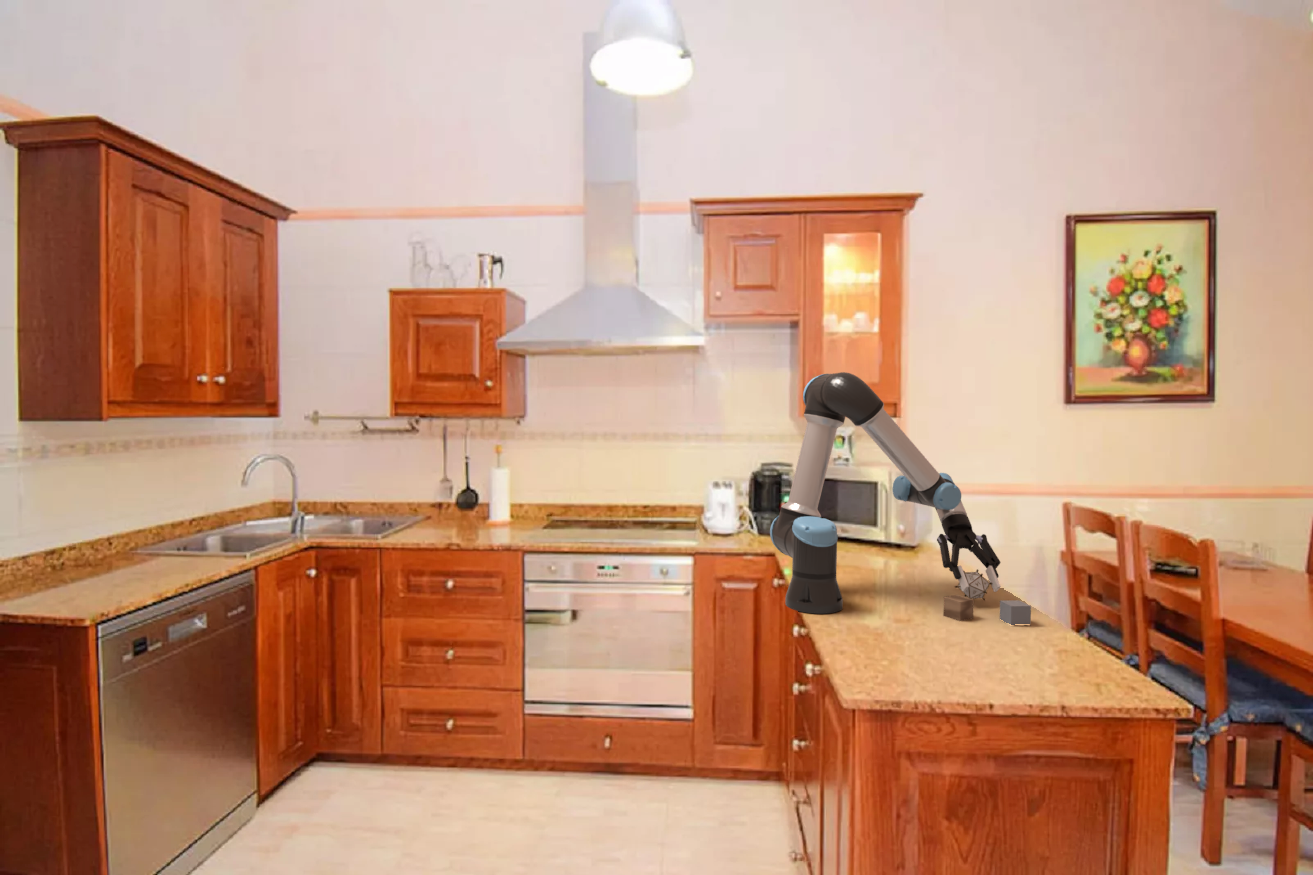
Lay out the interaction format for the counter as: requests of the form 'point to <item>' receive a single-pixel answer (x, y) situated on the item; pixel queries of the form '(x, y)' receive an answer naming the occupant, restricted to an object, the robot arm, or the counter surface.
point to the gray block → (1015, 612)
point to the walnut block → (958, 607)
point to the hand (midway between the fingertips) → (981, 589)
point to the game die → (975, 585)
